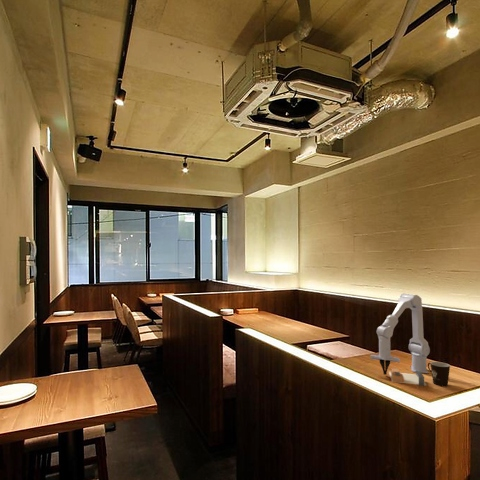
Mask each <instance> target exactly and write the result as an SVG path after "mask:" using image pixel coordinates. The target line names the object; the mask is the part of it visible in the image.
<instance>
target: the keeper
mask: <svg viewBox="0 0 480 480" xmlns="http://www.w3.org/2000/svg"><path fill="white" fill-rule="evenodd" d="M415 374H416V375H417V377H418V382H419V385H418V386H419V387H425V385H424V382H425V376H424V375H423V373H421V372H420V371H416V372H415Z"/></svg>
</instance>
